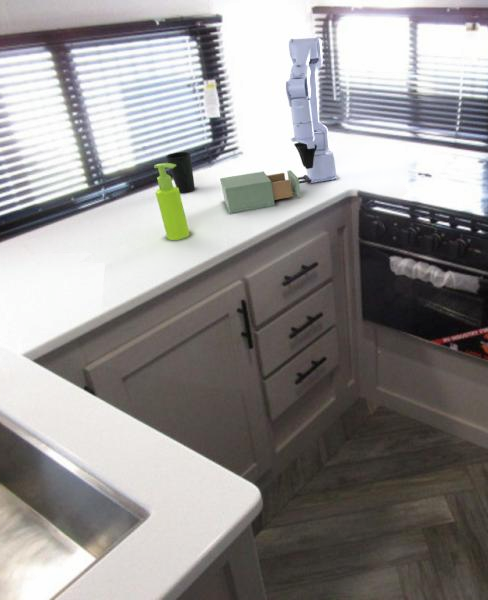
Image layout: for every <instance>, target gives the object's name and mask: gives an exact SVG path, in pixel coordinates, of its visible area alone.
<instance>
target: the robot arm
mask: <svg viewBox="0 0 488 600" xmlns="http://www.w3.org/2000/svg"><path fill="white" fill-rule="evenodd" d="M322 44H323V43H322V40H321V38H320V37H319V36H316V37H308V38H295V39H294V38H290V40H289V41H288V51H289V56H290V59H291V62H292V66H291V68H290V73H289V74H290V75H289V79H288V80H287V81H285V91H286V97H287V100H288V105H289V108H290V111H291V112H290V113H291V119H292V127H293V128H292V129H293V134H294V137H291V138H290V141H291V142H292V143H293V142H295V143H294V147H295V148H296V150H297V152H298V155H299V157H300V160H301V164H302V166H303V167H304V168H305V169H306V175H307V176H308V177H309V178H310V179H311V183H310V184H315V183H320V182H326V181H332V180H337V179H338V177H337V172H336V171H337V170H336V162H335V161H336V160H335V156H334V152H333V151H332V150H330V149H331V142H330V140H331V139H330V133H329V128H328V127H327V126H326V125H325V124H323V123H322V122H321V121H320V111H319V110H320V109H319V94H318V93H319V92H318V72H319V69H321V68H322V67H323V63H324V61H323V59H324V58H323V45H322Z"/></svg>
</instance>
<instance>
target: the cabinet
mask: <svg viewBox="0 0 488 600" xmlns="http://www.w3.org/2000/svg"><path fill="white" fill-rule="evenodd" d="M219 180H220V185H221V190H222V195H223V196H222V197H223V200H224V203H225V206H226V208H227V210H228V212H229V214H233V213H240V212H244V211H249V210H250V211H251V210H257V209H261V208H268V207H272V206H275V205H276V204H275V200H274V196H273V190H272V184H271V180H270V179H269V178H268V177H267V174H266V172H265V171H264V170H263V171H258V172H257V171H256V172H252V173H244V174H239V175H232V176H227V177H220V178H219Z"/></svg>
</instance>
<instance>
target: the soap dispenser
mask: <svg viewBox="0 0 488 600" xmlns="http://www.w3.org/2000/svg"><path fill="white" fill-rule="evenodd" d="M174 167H176V165H175V164H171V163H168V162H161V163H156V164H154V165H153V168H154V169H157V171H158V173H159V175H158V176H157V177H156V179H157V183H158V184H157V185H158V189H157V190H155V196H156V200H157V203H158V208H159V212H160V216H161V219H162V222H163V226H164V231H165V233H166V234H165V235H166V237H167V240H169V241H179V240H183V239H186V238H188V237H189V236H190V230H189V226H188V221H187V217H186V213H185V209H184V205H183V201H182V196H181V193H180V192H179V188H178V187H176V186H174V185H173V180H172V177H171V176H172V175H169V174H167V171H166V168H167V169H170V168H174Z"/></svg>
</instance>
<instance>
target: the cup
mask: <svg viewBox="0 0 488 600" xmlns="http://www.w3.org/2000/svg"><path fill="white" fill-rule="evenodd" d="M191 157H192V156H191V152H188V151H179V152H173V153H170V154H167V155H166V156H165V159H166V161H167V162H166V163H171V164H175V165H176V167H174V168H169V171H170V173H171V176H172V179H173V182H174V185H175V187H178V188H179V192H180V194H187V193H192V192H194V191H195V190H196V188H195V180H194V173H193V172H194V171H193V165H192V158H191Z"/></svg>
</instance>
